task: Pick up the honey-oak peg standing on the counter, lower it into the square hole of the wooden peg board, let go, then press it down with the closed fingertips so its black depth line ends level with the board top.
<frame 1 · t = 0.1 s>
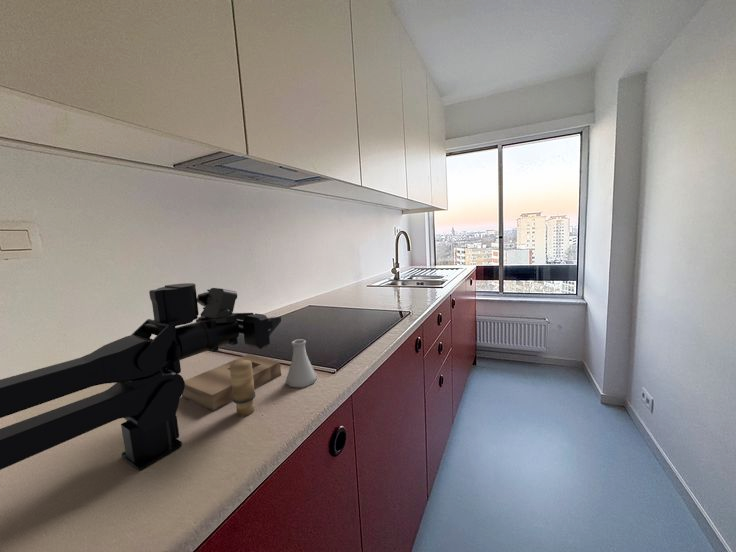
hand: (266, 316, 70), 17 cm above the countertop, tool horizontal, fingers open, 9 cm apart
oak peg: (245, 411, 61), on the countertop
wooden peg board: (234, 385, 72), on the countertop
flask: (301, 382, 73), on the countertop
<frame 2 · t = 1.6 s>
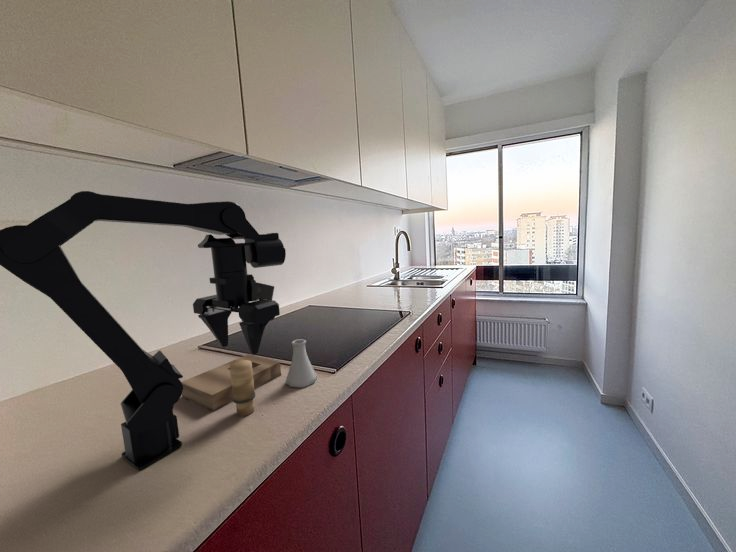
hand: (239, 349, 59), 13 cm above the countertop, tool pointing down, fingers open, 9 cm apart
nothing on the countertop moved.
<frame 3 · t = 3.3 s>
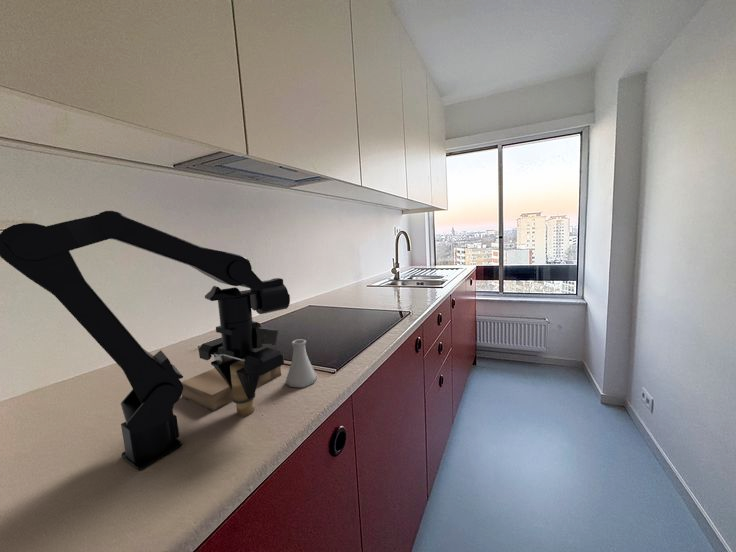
hand: (244, 395, 61), 4 cm above the countertop, tool pointing down, fingers closed on oak peg, 4 cm apart
oak peg: (245, 411, 61), on the countertop, touching gripper
everything else where it was.
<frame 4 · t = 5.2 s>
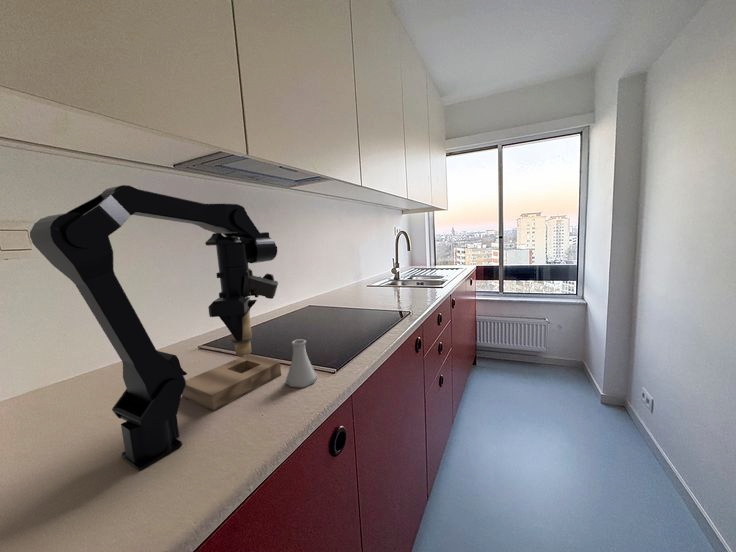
hand: (241, 337, 66), 13 cm above the countertop, tool pointing down, fingers closed on oak peg, 4 cm apart
oak peg: (243, 352, 66), point 10 cm above the countertop, touching gripper
everything else where it was.
when the fingers open (5 cm above the countertop, at t = 7.2 s): oak peg stays where it is, resting on wooden peg board.
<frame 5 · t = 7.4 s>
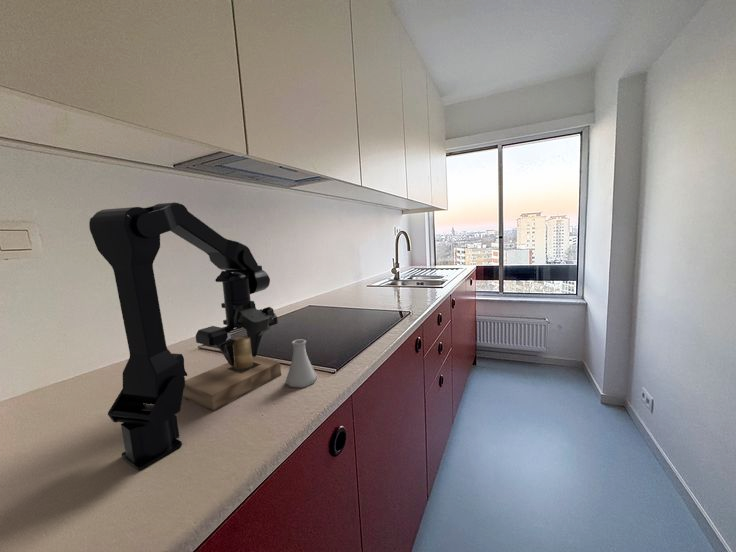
hand: (243, 360, 74), 5 cm above the countertop, tool pointing down, fingers open, 6 cm apart
oak peg: (245, 378, 75), point 1 cm above the countertop, touching wooden peg board
everything else where it was.
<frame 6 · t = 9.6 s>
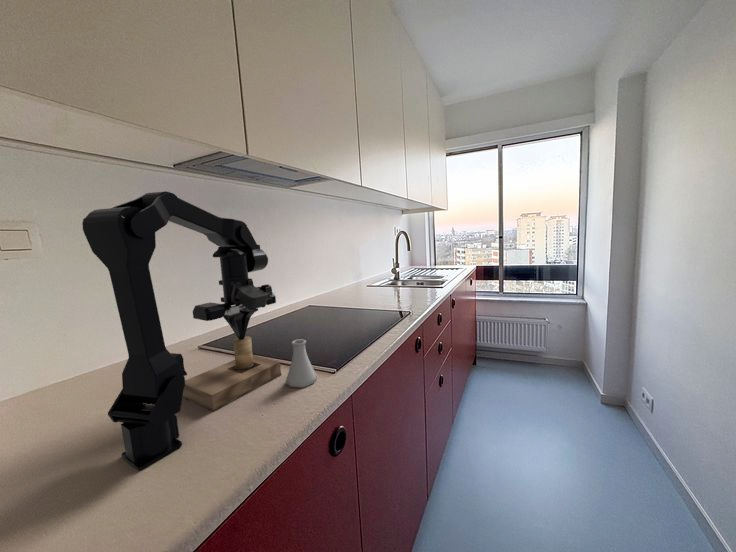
hand: (241, 339, 74), 10 cm above the countertop, tool pointing down, fingers closed, pressing on oak peg
oak peg: (245, 378, 75), point 1 cm above the countertop, touching gripper, wooden peg board
everything else where it was.
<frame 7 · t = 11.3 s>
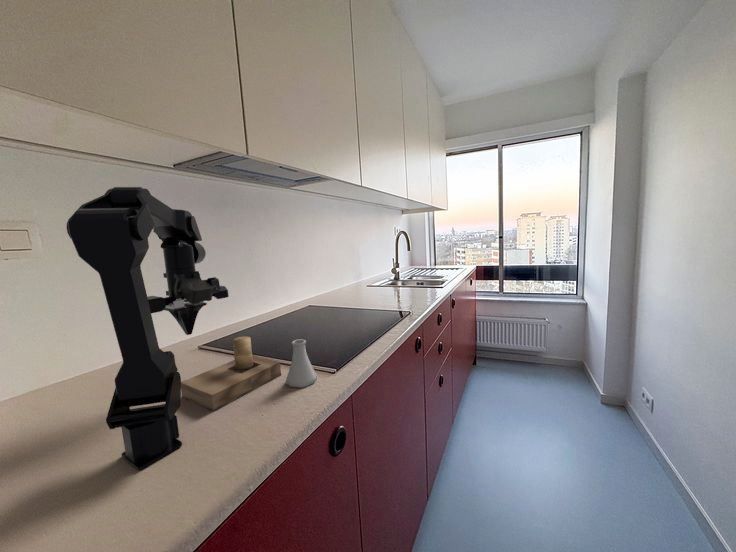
hand: (188, 334, 71), 13 cm above the countertop, tool pointing down, fingers closed
oak peg: (245, 378, 75), point 1 cm above the countertop, touching wooden peg board
everything else where it was.
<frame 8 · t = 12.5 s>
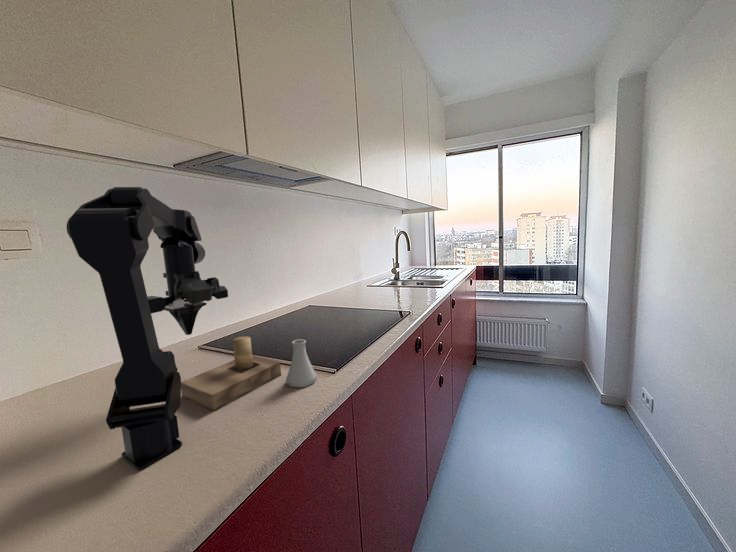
hand: (188, 334, 71), 13 cm above the countertop, tool pointing down, fingers closed
nothing on the countertop moved.
at the end: oak peg 0.1 cm from the target spot on the wooden peg board, point 0.5 cm above the wooden peg board's base; oak peg tilted 0°; the gripper is holding nothing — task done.
